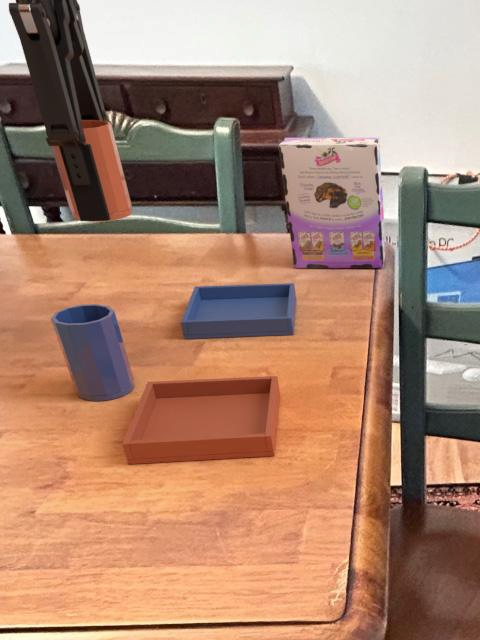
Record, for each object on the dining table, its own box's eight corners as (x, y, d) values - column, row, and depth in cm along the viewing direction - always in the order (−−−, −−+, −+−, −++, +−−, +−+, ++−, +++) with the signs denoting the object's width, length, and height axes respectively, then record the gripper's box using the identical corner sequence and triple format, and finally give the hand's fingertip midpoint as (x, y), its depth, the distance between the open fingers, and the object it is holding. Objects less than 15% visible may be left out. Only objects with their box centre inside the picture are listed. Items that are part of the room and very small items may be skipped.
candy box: (386, 258, 116) (381, 136, 105) (383, 269, 111) (377, 143, 100) (298, 257, 116) (284, 134, 105) (292, 268, 111) (277, 142, 100)
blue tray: (184, 339, 90) (180, 322, 88) (197, 302, 100) (194, 286, 98) (293, 334, 91) (291, 317, 90) (296, 298, 101) (294, 283, 100)
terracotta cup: (67, 222, 74) (38, 129, 69) (81, 208, 79) (55, 120, 73) (126, 221, 75) (102, 128, 70) (137, 207, 79) (115, 119, 74)
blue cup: (71, 402, 77) (44, 325, 71) (84, 379, 81) (60, 305, 76) (129, 399, 77) (106, 323, 72) (139, 376, 82) (118, 303, 76)
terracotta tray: (128, 464, 67) (121, 444, 66) (152, 400, 77) (147, 381, 76) (274, 456, 69) (271, 435, 67) (280, 394, 79) (277, 375, 77)
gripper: (33, -101, 55) (122, 235, 70) (91, -86, 69) (154, 190, 84) (-74, -103, 54) (39, 237, 69) (7, -87, 68) (86, 192, 83)
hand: (102, 211), depth 76 cm, fingers closed on terracotta cup, 6 cm apart
